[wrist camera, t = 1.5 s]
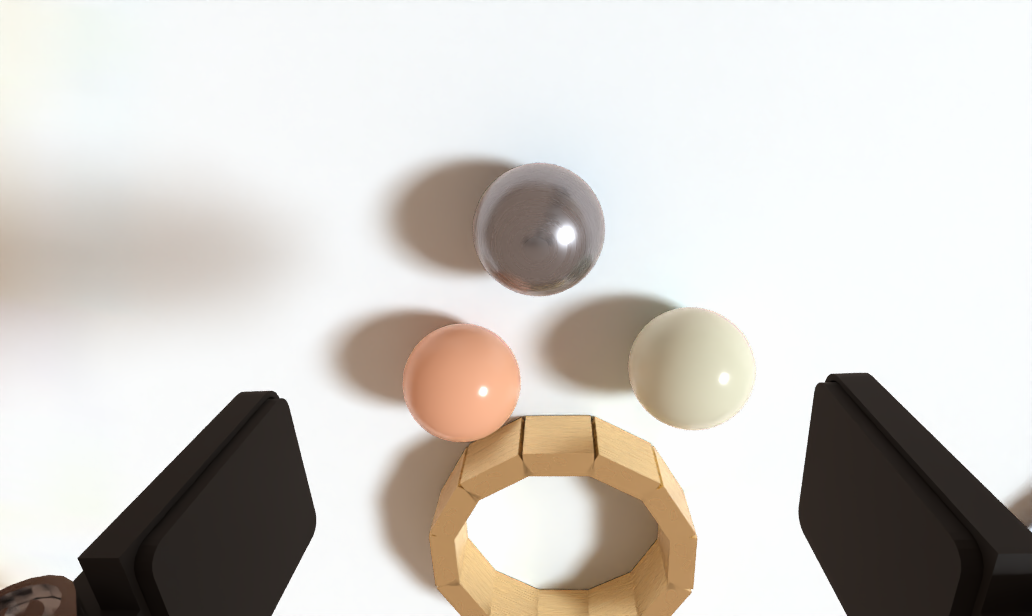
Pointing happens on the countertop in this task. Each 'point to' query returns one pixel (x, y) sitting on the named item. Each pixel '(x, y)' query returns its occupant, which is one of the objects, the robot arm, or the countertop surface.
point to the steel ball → (538, 229)
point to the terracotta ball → (461, 382)
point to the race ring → (563, 452)
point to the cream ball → (692, 368)
